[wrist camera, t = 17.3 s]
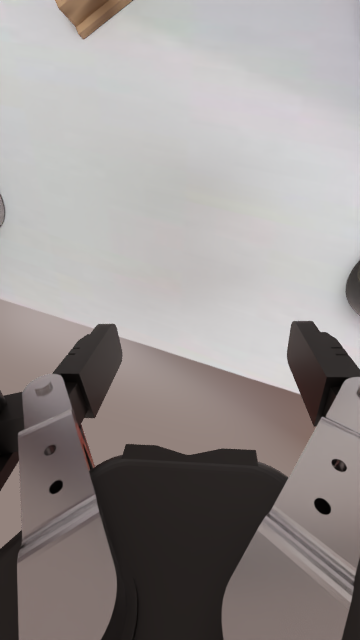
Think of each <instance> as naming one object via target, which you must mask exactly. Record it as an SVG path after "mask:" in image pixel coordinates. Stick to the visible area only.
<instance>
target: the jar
mask: <svg viewBox="0 0 360 640" xmlns="http://www.w3.org/2000/svg"><path fill="white" fill-rule="evenodd" d="M346 295H347V299H348V302H349V304H350V306H351V307H352V308H353V309H354V311H355V312H356V313H357V314H358V315H359V316H360V261H359V262H358V263H357V265H356V266H355V267H354V269H353V270H352V272H351V274H350V276H349V279H348V282H347V287H346Z"/></svg>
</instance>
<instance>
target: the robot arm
mask: <svg viewBox="0 0 360 640" xmlns="http://www.w3.org/2000/svg"><path fill="white" fill-rule="evenodd" d="M3 220H4V205H3V202H2V199H1V196H0V226H1V225H2V222H3ZM287 360H288V364H289V367H290V369H291V372H292V374H293V377H294V379H295V381H296V384H297V386H298V389H299V391H300V394H301V396H302V398H303V401H304V403H305V406H306V408H307V411H308V413H309V416H310V418H311V421H312V423H313V425H314V426H316V428H315V430H314V432H313V434H312V436H311V438H310V439H309V441H308V443H307V445H306V447H305V449H304V451H303V452H302V454H301V456H300V458H299V460H298V461H297V463H296V465H295V467H294V469H293V471H292V473H291V474H290V476H289V478H288V477H287V476H286V475H284V474H283V473H281V472H280V471H278V470H276V469H275V468H273V467H271V466H268V465H266V464H264V463H261V462H258V461H257V456H256V450H240V449H238V450H237V449H218V450H213V451H208V452H203V453H198V454H193V455H185V454H181V453H178V452H175V451H172V450H169V449H166V448H163V447H159V446H155V445H134V444H126V446H125V449H124V452H123V455H120V456H117V457H114V458H111V459H109V460H106V461H104V462H102V463H101V464H99V465H97V466H96V467H95V465H94V462H93V459H92V456H91V453H90V449H89V446H88V443H87V440H86V437H85V434H84V431H83V428H82V425H81V423H82V421H83V419H84V418H95V417H96V415H97V413H98V410H99V408H100V406H101V404H102V402H103V400H104V398H105V396H106V394H107V392H108V390H109V387H110V385H111V383H112V381H113V379H114V377H115V375H116V373H117V371H118V369H119V366H120V364H121V362H122V349H121V344H120V340H119V336H118V332H117V328H116V325H115V324H98V325H97V326H96V327H95V329H94V330H93V331H92V332H91V334H87V335H86V336H85V337H83V338H82V339H80V340H79V341H78V342H77V343H76V344H75V346H74V347H73V349H71V351H70V352H69V353H68V355H67V356H66V357H65V358H64V359H63V361H62V362H61V363H60V365H59V366H58V367H57V368H56V369H55V371H54V372H53V373H52V374H48V375H44V376H41V377H38V378H36V379H35V380H33V381H31V382H30V383H29V384H28V385H27V386H26V387H25V389H24V390H23V392H19V393H15V394H10V395H5V396H3V395H2V393H1V391H0V491H1V489H2V487H3V486H4V484H5V482H6V481H7V479H8V477H9V476H10V474H11V472H12V471H13V469H14V468H15V466H16V464H17V463H18V461H19V473H20V497H21V521H22V530H21V531H20V532H19V533H18V534H17V535H16V536H15V537H13V538H12V539H11V540H10V541H9V542H8V543H7V544H5V545H4V546H3V547H2V548H1V549H0V640H360V369H359V368H358V367H357V365H356V364H355V363H354V361H353V360H352V359H351V357H350V356H348V354H347V352H346V351H345V350H344V349H343V347H342V346H341V344H340V343H339V342H338V340H337V339H336V338H334V337H332V336H331V335H329V334H328V333H326V332H320V331H319V330H318V328H317V327H316V325H315V324H314V322H313V321H293V322H292V324H291V330H290V336H289V343H288V349H287Z"/></svg>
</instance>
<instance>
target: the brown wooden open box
mask: <svg viewBox="0 0 360 640" xmlns="http://www.w3.org/2000/svg"><path fill="white" fill-rule="evenodd" d="M55 1H56V3H57V6H58V8H59V9H60V10H61V11H62V12H63V13H64V15H65V16H66V17H67V18H68V19H69V20H70V21H71V22H72V23H73V24H74V25H75V27H76V29H77V32H78V34H79V35H80V36H81V37H82V38H83V39H85V38H86V37H87V36H89V35H90V34H91V33H92V32H94V31H95V30H96V29H97V28H99V27H100V26H101V25H102V24H104V23H105V22H106V21H107V20H109V19H110V18H111V17H112V16H114V15H115V14H116V13H118V12H119V11H120V10H121V9H123V8H124V7H125V6H126V5H128V4H129V3H130V2H131V1H133V0H55Z"/></svg>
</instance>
